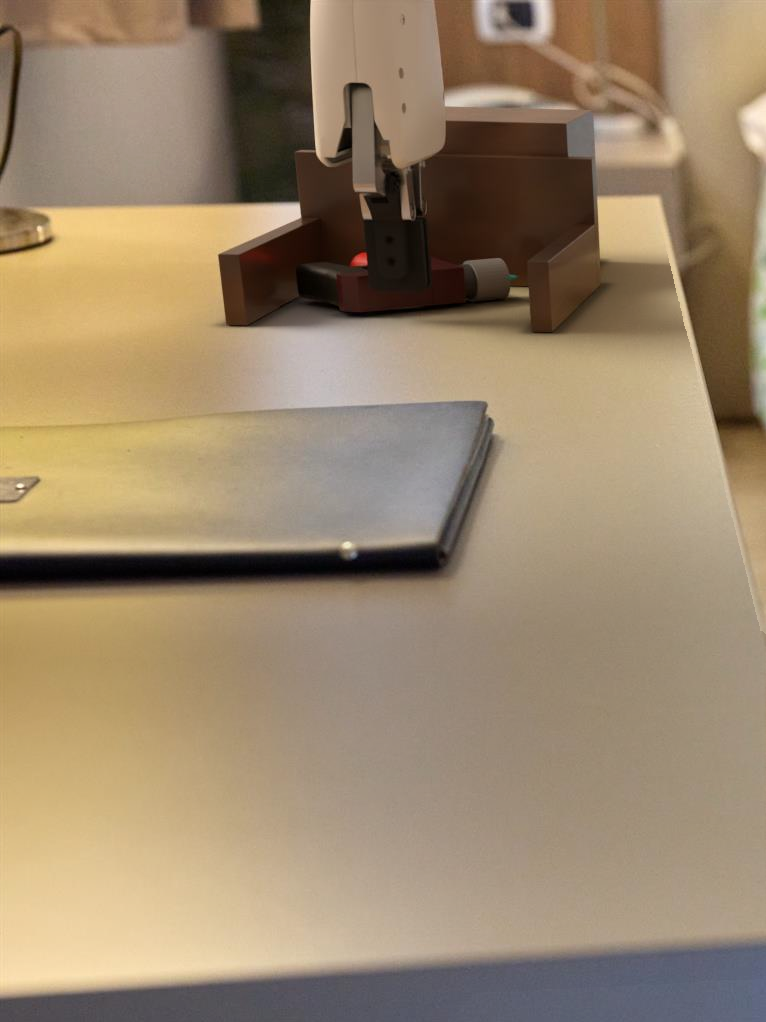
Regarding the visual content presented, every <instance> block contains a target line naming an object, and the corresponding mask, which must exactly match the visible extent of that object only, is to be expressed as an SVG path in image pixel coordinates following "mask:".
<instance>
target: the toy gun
mask: <svg viewBox="0 0 766 1022" xmlns="http://www.w3.org/2000/svg"><path fill="white" fill-rule="evenodd" d="M431 268H432V284H431V285H430V286H429V287H427V288H426V289H424V290H423V291H421V292H408V291H375V290H373V289H372V288H371V287H370V285H369V277H368V266H367V255H366V253H361V254H358V255H357V256H355V257H354V258H353V260H352V261H351V264H350V266H344V265H339V264H333V263H328V262H319V263H307V264H301V265H299V266H298V267H297V268H296V278H297V288H298V293H299V295H300V296H299V297H301V298H303V299H306V300H311V301H315V302H321V303H325V304H331V305H335V306H337V307H339V311H342V312H344V313H345V312H347V313H348V312H349V313H364V312H365V313H366V312H375V311H388V310H396V309H405V308H406V309H408V308H416V307H427V306H440V305H450V304H451V305H452V304H461V303H467V300H468V301H469V302H470V303H476V302H477V303H478V302H487V301H497V300H505V299H507V298H508V297H509V295H510V292H511V286H510V281H511V280H513V279H515V278H517V277H518V276H514V275H510V274H509V271H508V268H507V266H506V264H505V262H504V261H503V260H502V259H501V258H493V259H481V260H470V261H465V262H464V263H463V265H455V264H452V263H449V262H446V261H443V260H440V259H437V258H434V257H431Z"/></svg>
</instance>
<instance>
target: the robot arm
mask: <svg viewBox="0 0 766 1022" xmlns="http://www.w3.org/2000/svg"><path fill="white" fill-rule="evenodd" d="M437 16H438V15H437V10H436V5H435V0H310V13H309V36H310V37H309V38H310V39H309V40H310V41H309V42H310V66H311V67H310V70H311V71H310V72H311V91H312V92H311V93H312V111H313V113H312V114H313V127H314V128H313V129H314V142H315V144H314V145H315V150H316V154H317V156H318V158H319V160H320V161H321V162H322V163H323V164H324V165H326V166H328V167H336V166H340V165H343V164H345V163H348V162H351V161H353V187H354V191H355V192H356V193H359V196H360V203H361V210H362V216H363V219H364V232H365V243H366V255H367V266H368V277H369V285H370V287H371V288H372V289H373V290H375V291H408V292H421V291H423V290H424V289H426V288H427V287H429V286H430V285H431V284H432V268H431V255H430V242H429V229H428V217H417V216H426V213H427V187H426V172H427V168H428V161H427V159H428V158H430V157H432V156H433V155H435V154H436V153H438V152H439V151H440V150H441V149H442V148H443V146H444V143H445V136H446V118H445V106H446V102H445V101H446V100H445V88H444V87H445V86H444V76H443V64H442V55H441V46H440V36H439V28H438V21H437V20H438V19H437Z"/></svg>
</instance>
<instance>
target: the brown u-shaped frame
mask: <svg viewBox="0 0 766 1022" xmlns="http://www.w3.org/2000/svg"><path fill="white" fill-rule="evenodd" d="M445 118H446V136H445V143H444V146H443V148H442V149H441V150H440V151H439V152H438V153H436V154H435V155H433V156H432V157H430V158H428V159H427V161H428V168H427V172H426V187H427V213H426V216H417V217H428V229H429V242H430V255H431V257H434V258H437V259H440V260H443V261H446V262H449V263H452V264H455V265H463V263H464V262H465V261H470V260H481V259H493V258H501V259H502V260H503V261H504V262H505V264H506V266H507V268H508V271H509V274H510V275H514V276H518V277H517V278H515V279H513V280H511V281H510V287H514V286H515V287H528V288H527V289H528V303H529V304H528V305H529V317H530V318H529V319H530V332H531V333H553V332H554V331H555V330H556V329H557V328H558V327H559V326H560V325H561V324H562V323H563V322H565V320H566V319H567V318H568V317H569V316H570V315H571V314H572V313H573V312H574V311H576V309H578V307H580V306H581V304H583V302H584V301H585V300H586V299H588V298H589V297H590V296H591V295H592V294H593V293H594V292H595V291H596V290H597V289H598V288H599V287H600V286H601V285H602V275H601V274H602V273H601V249H600V246H601V245H600V228H599V227H600V226H599V207H598V205H599V204H598V185H597V164H596V145H595V144H596V142H595V141H596V140H595V122H594V121H595V120H594V119H595V118H594V110H593V109H570V108H569V109H565V108H562V109H561V108H529V107H528V108H527V107H526V108H524V107H487V106H485V107H484V106H449V105H448V106H446V105H445ZM294 161H295V171H296V181H297V182H296V183H297V191H298V200H299V210H300V217H299V218H296V219H295V220H292V221H290V222H288V223H286V224H284V225H283V224H282V225H281V226H279V227H277V228H274V229H272V230H270V231H267V232H265V233H263V234H261V235H259V236H256V237H254V238H252V239H250V240H247V241H245V242H243V243H240V244H238V245H236V246H234V247H232V248H229V249H227V250H225V251H222V252H220V253H218V254H217V257H218V266H219V277H220V283H221V292H222V300H223V302H222V303H223V309H224V319H225V325H226V326H245V327H246V326H249V325H250V324H252V323H254V322H256V321H257V320H259V319H261V318H262V317H265V316H267V315H268V314H269V313H271V312H273V311H276V310H278V309H279V308H280V307H283V306H284V305H286V304H288V303H290V302H291V301H294V300H295V299H296V298H299V297H301V296H300V295H299V293H298V288H297V278H296V268H297V267H298V266H299V265H301V264H307V263H319V262H328V263H333V264H339V265H344V266H350V264H351V261H352V260H353V258H354V257H355V256H357V255H358V254H361V253H366V243H365V232H364V219H363V216H362V210H361V203H360V196H359V193H356V192H355V191H354V187H353V161H351V162H348V163H345V164H343V165H340V166H336V167H328V166H326V165H324V164H323V163H322V162H321V161H320V160H319V158H318V156H317V154H316V149H299V150H296V151H294Z"/></svg>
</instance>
